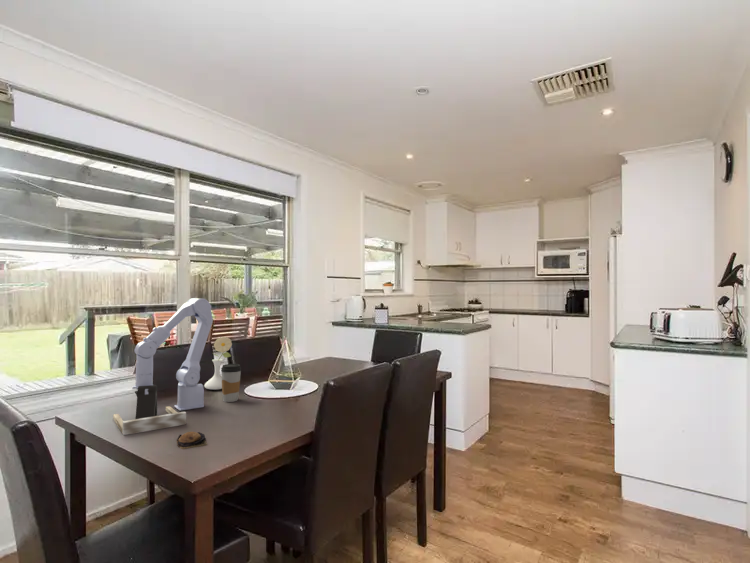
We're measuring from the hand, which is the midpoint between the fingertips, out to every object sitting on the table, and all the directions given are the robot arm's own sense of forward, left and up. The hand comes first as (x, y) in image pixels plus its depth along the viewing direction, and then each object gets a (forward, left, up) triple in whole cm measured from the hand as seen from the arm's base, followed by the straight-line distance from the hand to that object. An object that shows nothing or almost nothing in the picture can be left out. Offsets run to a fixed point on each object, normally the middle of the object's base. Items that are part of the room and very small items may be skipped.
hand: (143, 409), depth 160 cm
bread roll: (-6, +40, -3) cm, 40 cm away
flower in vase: (-37, -26, -2) cm, 45 cm away
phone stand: (0, +6, -2) cm, 6 cm away
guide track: (0, +9, -2) cm, 9 cm away
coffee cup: (-34, -2, -2) cm, 34 cm away
